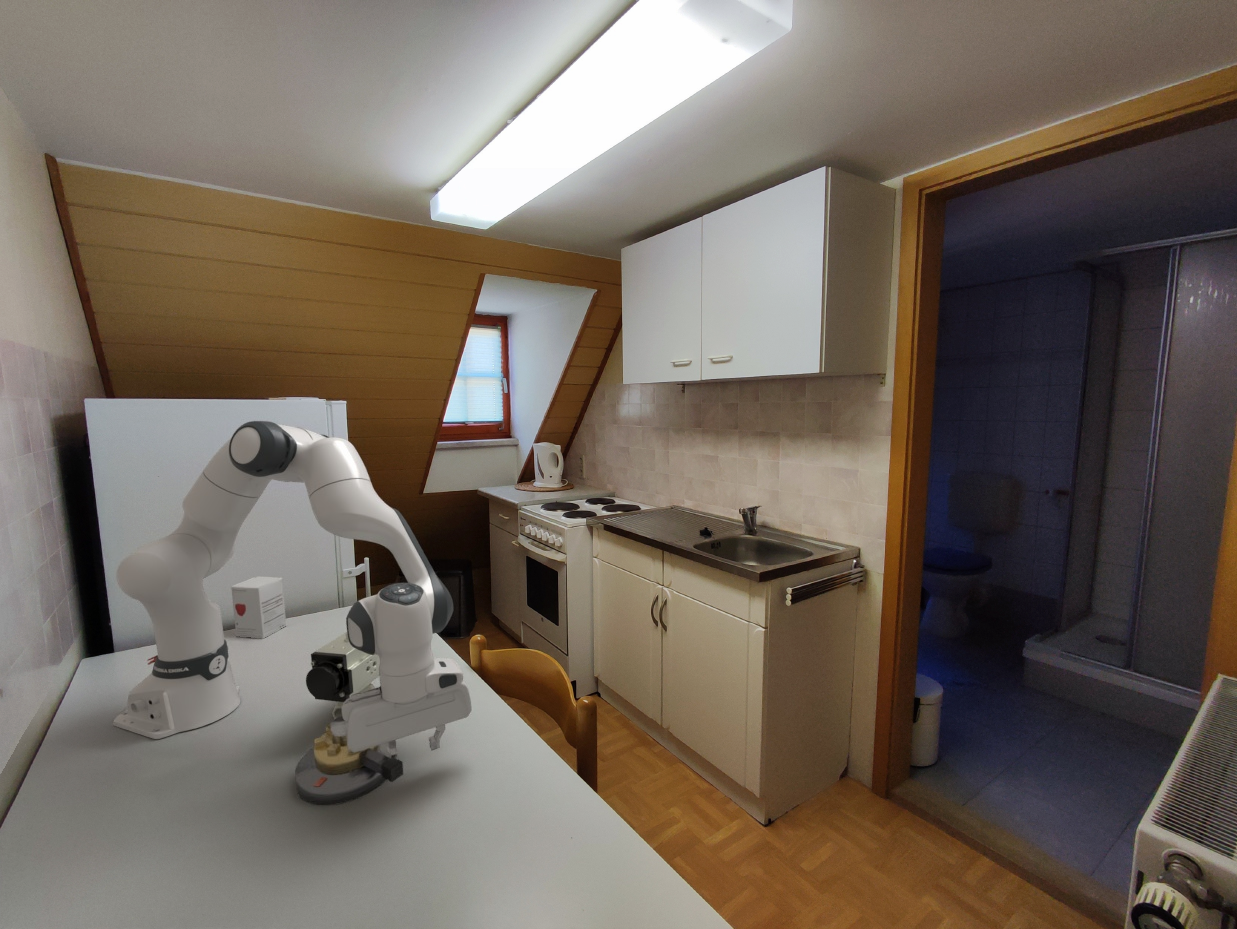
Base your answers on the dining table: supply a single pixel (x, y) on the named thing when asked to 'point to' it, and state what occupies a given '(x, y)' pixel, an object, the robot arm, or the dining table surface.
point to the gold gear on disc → (335, 775)
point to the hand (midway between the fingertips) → (413, 754)
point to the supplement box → (258, 607)
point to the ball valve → (341, 672)
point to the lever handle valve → (352, 758)
